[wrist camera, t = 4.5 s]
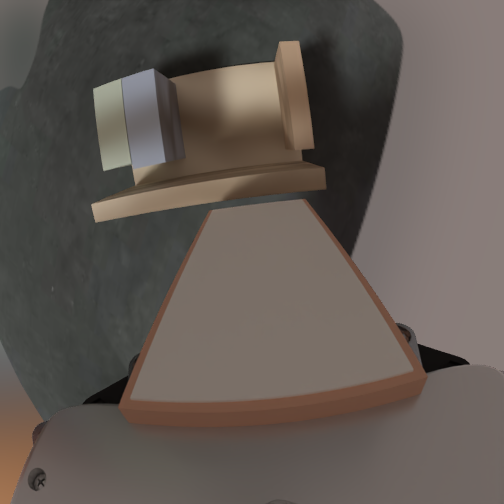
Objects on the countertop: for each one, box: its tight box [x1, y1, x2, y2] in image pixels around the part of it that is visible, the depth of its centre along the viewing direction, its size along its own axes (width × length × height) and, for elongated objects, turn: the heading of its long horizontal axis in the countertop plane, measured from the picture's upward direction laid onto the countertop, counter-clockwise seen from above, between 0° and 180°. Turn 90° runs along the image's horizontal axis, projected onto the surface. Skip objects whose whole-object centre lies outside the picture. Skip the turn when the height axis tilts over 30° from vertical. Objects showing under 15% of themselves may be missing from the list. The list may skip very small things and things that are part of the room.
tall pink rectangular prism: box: [118, 199, 428, 427], centre depth 10 cm, size 7×5×12 cm
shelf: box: [91, 41, 326, 222], centre depth 18 cm, size 10×14×8 cm
